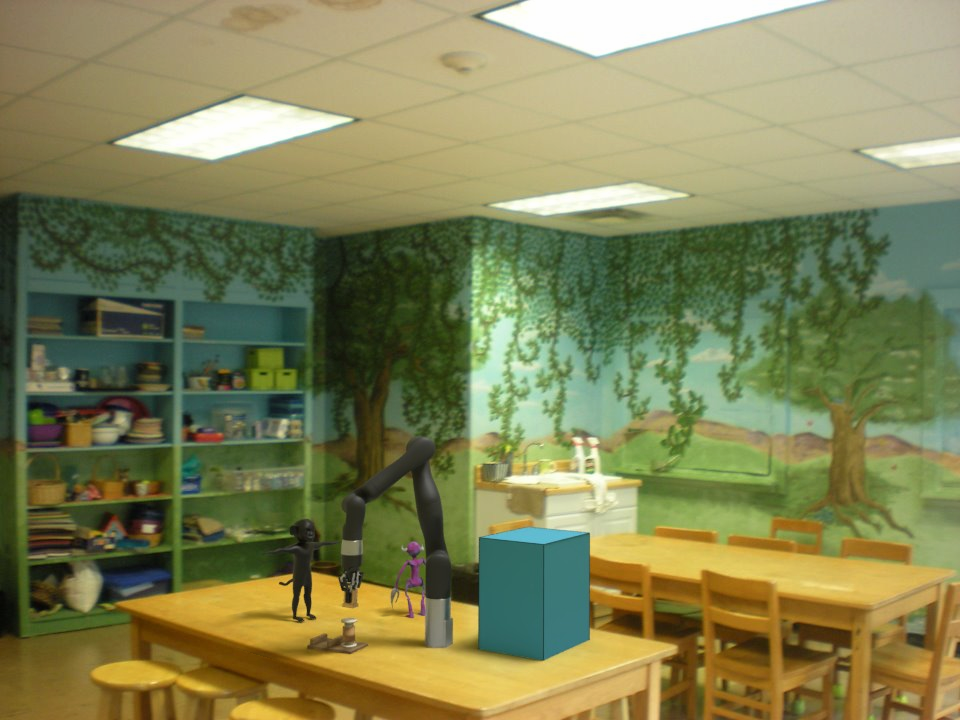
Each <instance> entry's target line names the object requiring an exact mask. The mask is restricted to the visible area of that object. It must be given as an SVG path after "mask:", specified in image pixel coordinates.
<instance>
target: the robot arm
mask: <svg viewBox="0 0 960 720" xmlns="http://www.w3.org/2000/svg"><path fill="white" fill-rule="evenodd" d="M406 443H407V444H406V446H405V453H404V454H403V455H401V456H400V457H399V458H398V459H395V461H393V462H392V463H390V464H389V465H387V466H386V467H384V468H382V469H381V470H380V471H378V472H376V473H375V474H374V475H373V476H371V477H370V478H369V479H368V480H366V481H365V482H364V483H363V484H362V485H360V486H358V487H357V488H355V489H353V490H352V491H350V492H349V493H348V494H347V495H345V496H344V497H343V499H342V501H341V504H340V505H341V507H340V508H341V509H342V512H344V513H345V523H344V524H343V525H342V533H341V534H342V538H341V547H340V549H341V550H340V566H341V567H343V570H342V575H341V576H338V578H337V580H338V583H339V586H340V589H341V592H343V593H344V592H345V602H346V603H351V597H352V593H351V592H352V589H357V590H358V589H360V587H361V586H362V581H363V578H364V573H365V572H364V571H361V569H360V568H361V567H362V566H363V558H364V557H363V555H364V554H363V553H364V543H363V531H364V529H363V526H364V523H365V518H366V511H367V510H366V509H367V508H366V507H367V506H366V505H367V504H368V503H369V502H372V501H375V500H377V499H378V498H379V497H381V496H382V495H383V494H384V493H385V492H387V491H388V490H390V489H391V488H392V487H393V486H394V485H395V484H396V483H398V482H399V480H401V479H402V478H403V477H405V476H406V475H408V474H409V473H410V472H411V478H412V484H413V485H412V486H413V487H412V488H413V493H414V498H415V499H414V500H415V508H416V515H417V519H418V523H419V526H420V530H421V533H422V535H423V540H424V551H425V561H426V566H425V572H424V573H425V581H424V582H425V583H424V587H425V592H424V596H425V598H424V604H425V616H424V646H426V647H427V648H432V649H446V648H449V647H450V646H452V645H454V618H453V617H451V615H452V614H451V613H452V612H451V611H452V608H451V607H452V561H451V558H450V555H449V551H448V549H447V544H446V539H445V534H444V533H445V531H444V512H443V505H442V499H441V496H440V495H441V494H440V492H439V489H438V487H437V484H436V482H435V480H434V477H433V474H432V469H431V461H430V460H431V459H432V458H433V457H434V456H435V454H436V449H437V448H436V444H435V442H434V441H433V440H432V439H431V438H430V437H427V436H413V437H411V438H410V439H409V440H408V441H407V442H406Z"/></svg>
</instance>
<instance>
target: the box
mask: <svg viewBox="0 0 960 720" xmlns="http://www.w3.org/2000/svg"><path fill="white" fill-rule="evenodd" d="M590 562H591V533H590V532H588V531H587V532H586V531H576V530H575V531H574V530H566V529H558V528H557V529H556V528H545V527H534V526H524V527H520V528H516V529H511V530H506V531H502V532H496V533H492V534H488V535H483V536H478V598H477V599H478V605H477V606H478V611H477V612H478V615H477V616H478V617H477V618H478V620H477V621H478V626H477V627H478V628H477V629H478V631H477V633H478V636H477V638H478V639H477V640H478V644H477V649H478V650H480V651H481V650H482V651H487V652H492V653H499V654H502V655H504V654H505V655H509V656H515V657H521V658H525V659H526V658H527V659H531V660H537V661H542V662H543V661H546V660H548V659H550V658H553V657H554V656H557V655H559V654H561V653H564V652H567V651H568V650H570V649H573V648H575V647H577V646H579V645H581V644H584V643H586V642H588V641H591V638H590V636H591V629H590V628H591V619H590V616H591V611H590V610H591V563H590Z"/></svg>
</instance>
